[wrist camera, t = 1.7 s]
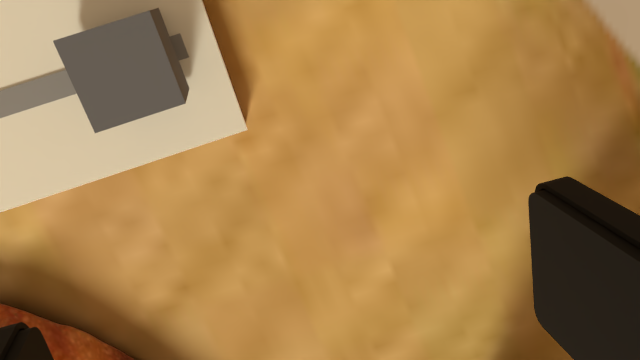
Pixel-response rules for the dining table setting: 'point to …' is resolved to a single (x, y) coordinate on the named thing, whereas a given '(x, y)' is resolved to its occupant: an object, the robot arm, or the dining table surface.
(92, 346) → the bread slice
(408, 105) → the dining table surface
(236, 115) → the console board
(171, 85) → the slider tab
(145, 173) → the dining table surface
